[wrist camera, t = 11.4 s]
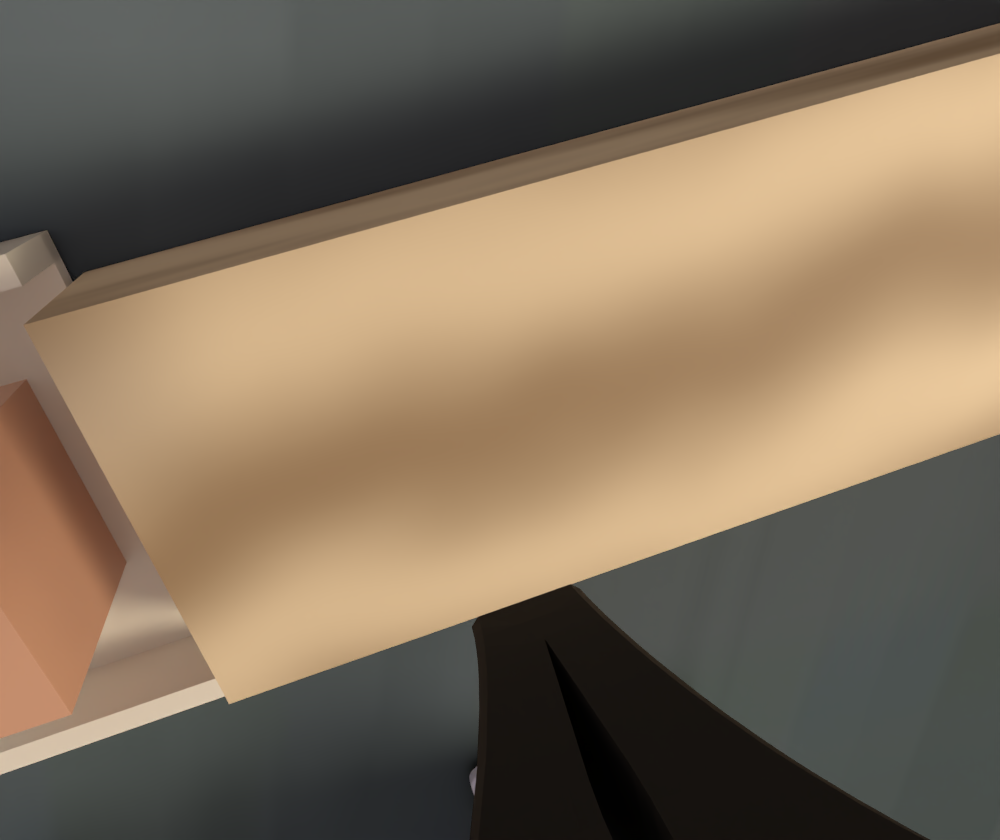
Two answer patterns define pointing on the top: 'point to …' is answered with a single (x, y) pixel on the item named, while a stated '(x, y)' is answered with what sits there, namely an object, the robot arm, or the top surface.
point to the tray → (141, 592)
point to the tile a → (46, 568)
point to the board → (547, 359)
